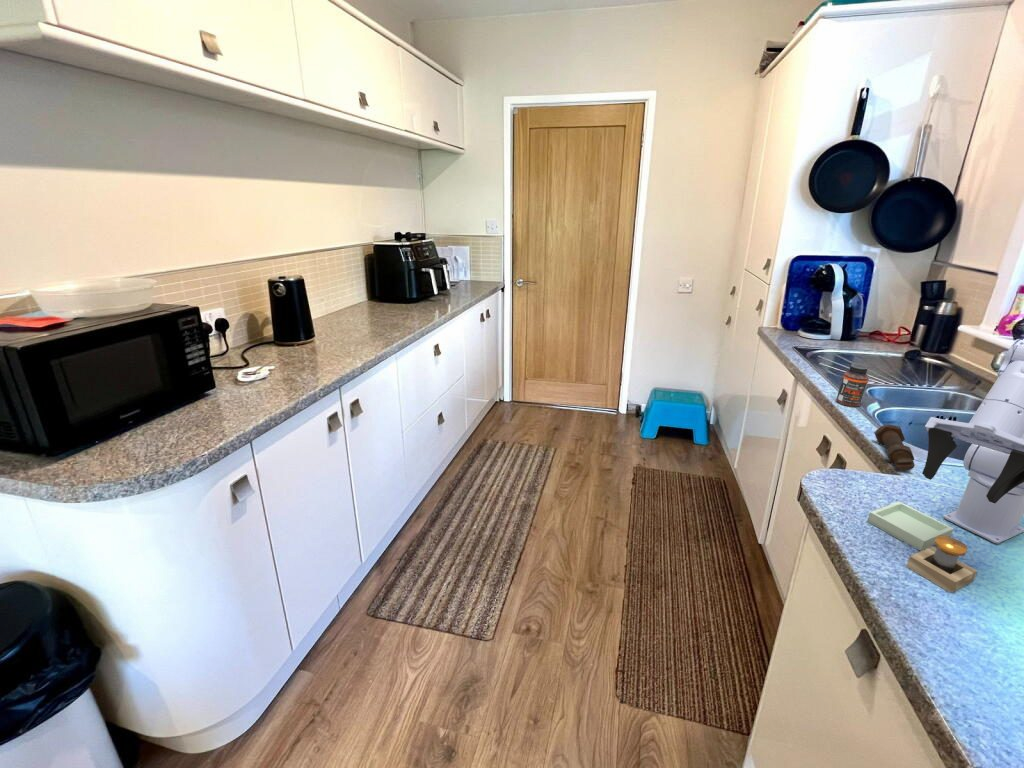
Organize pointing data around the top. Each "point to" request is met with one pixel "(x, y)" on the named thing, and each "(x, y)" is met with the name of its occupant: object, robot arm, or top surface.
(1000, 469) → the robot arm
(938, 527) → the parts tray
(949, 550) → the pin
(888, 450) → the bolt
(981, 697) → the top surface
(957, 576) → the collar block
